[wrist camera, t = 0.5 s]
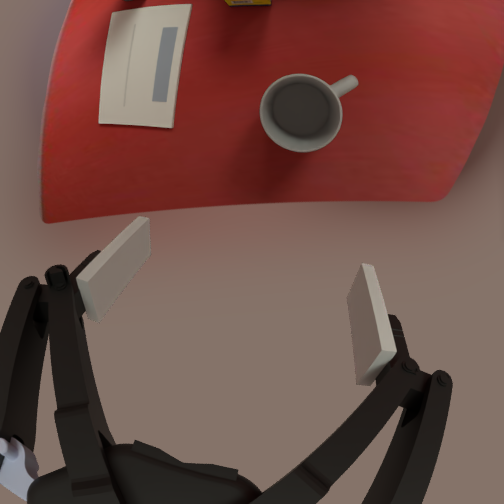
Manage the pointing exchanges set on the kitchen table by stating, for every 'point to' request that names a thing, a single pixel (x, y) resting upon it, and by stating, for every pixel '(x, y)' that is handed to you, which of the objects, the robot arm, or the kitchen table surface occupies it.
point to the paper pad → (143, 65)
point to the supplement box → (248, 2)
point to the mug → (303, 111)
